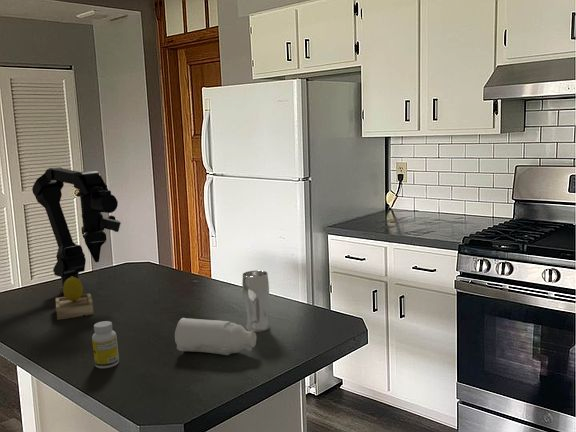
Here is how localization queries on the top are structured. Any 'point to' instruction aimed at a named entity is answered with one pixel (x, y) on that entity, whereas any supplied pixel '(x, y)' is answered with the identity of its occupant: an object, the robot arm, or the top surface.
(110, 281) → the top surface
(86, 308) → the wooden serving tray
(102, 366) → the supplement bottle
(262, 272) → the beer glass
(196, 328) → the white plastic bottle
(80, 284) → the lemon
